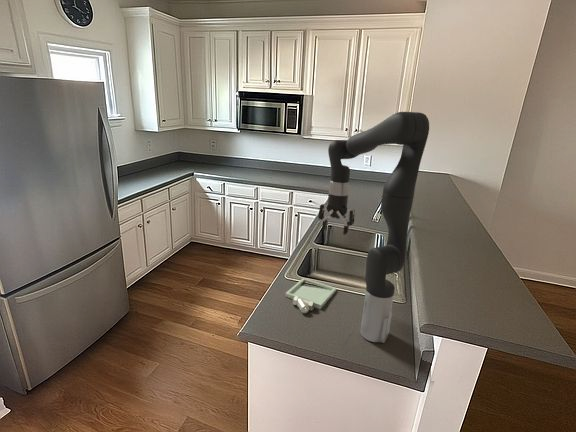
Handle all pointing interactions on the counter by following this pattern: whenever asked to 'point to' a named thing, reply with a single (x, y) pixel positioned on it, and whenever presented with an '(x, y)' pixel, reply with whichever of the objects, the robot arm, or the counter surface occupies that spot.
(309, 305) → the pipe fitting
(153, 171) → the counter surface
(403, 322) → the counter surface
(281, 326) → the counter surface
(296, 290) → the tray
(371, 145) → the robot arm
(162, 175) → the counter surface
